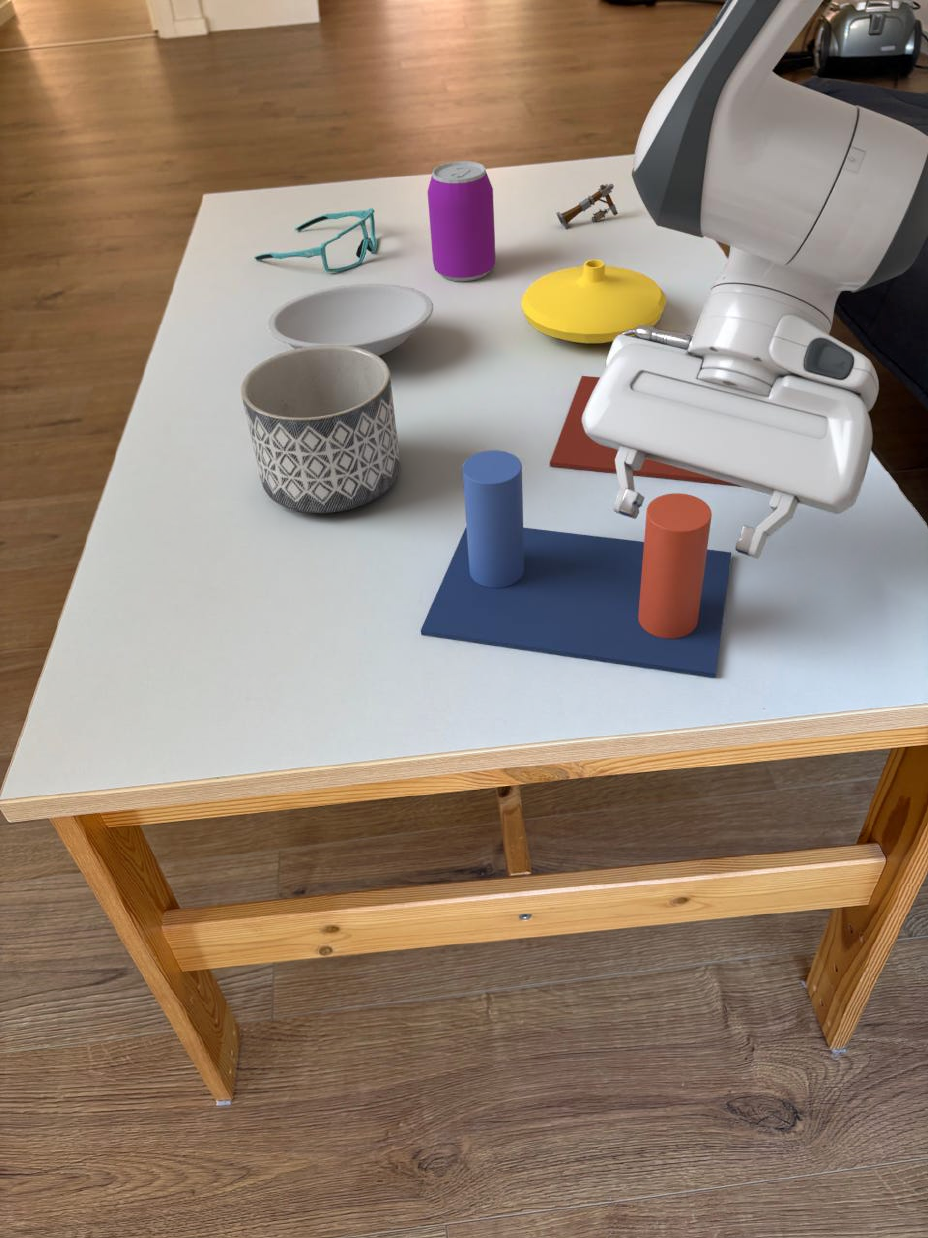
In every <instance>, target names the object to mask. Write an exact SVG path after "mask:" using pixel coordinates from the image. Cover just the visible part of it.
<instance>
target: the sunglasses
mask: <svg viewBox="0 0 928 1238" xmlns="http://www.w3.org/2000/svg"><path fill="white" fill-rule="evenodd" d="M375 213H376V212H375V210H374V208H373V207H371V208H368V209H367V210H366V209H365V210H351V211H342V212H335V213H333V212H331V213H325V214H322V215H319V216H316V217H313V218H312V219H310V220H307V221H305V222H304V223H301V224H299V225H298V226H296V227H295V228H294V230H295V231H296V232H301V231H303V230H305V229H307V228H309V227H311V226H313V225H315V224H318V223H321V222H323V221H324V222H325V221H329V220H338V219H342V218H346V217H356V218H358V219H360V220H359V221H357V222H356V223H354V224H352V225H351V226H350V227H347V228H345V229H344V230H343V231H340V232H339V233H338V234H337V235H336V236H335V237H333V238H331V239H329V240H326V241H325V242H322V243H321V244H320V246H317V247H311V248H308V249H301V250H296V251H289V252H264V253H260V254H257V255H255V256H254V259H255V261H257V262H258V261H263V260H268V259H276V260H283V259H288V258H297V257H300V258H301V257H302V258H306V259H311V258H313V257H317V256H320V257H321V261H322V266H323V269H324V271H325V272H327V273H340V272H344V271H348V270H351V269H354V268H357V266H360V265H361V264H362V263H364V260H365V257H366V255H367V251H368V252H370V254H375V253H376V251H377V247H378V239H377V237H376V223H375V215H374V214H375ZM367 220H369V223H370V237H369V233H368V230H367V225H366V221H367ZM359 226H360V228H361V231H362V235H363V238H362V239H361V241H360V243H359V245H358V247H357V249H356V251H355V256H356V257H357V258H358V260H357V261H355V262H354V263H352V264H349V265H347V266H343V267H337V268H330V267H329V264H328V261H327V260H328V259H327V253H326V246H327V245H329V244H331V243H334V242H335V241H337V240H339V239H341V238H342V237H343V236H345V235H346V234H348V233H349V232H351V231H353V230H354V229H356V228H357V227H359Z"/></svg>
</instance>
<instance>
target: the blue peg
mask: <svg viewBox="0 0 928 1238" xmlns="http://www.w3.org/2000/svg"><path fill="white" fill-rule="evenodd" d="M462 482H463V497H464V510H465V511H464V512H465V528H466V527H467V542H468V556H469V570H470V575H471V577H472V579H473V580H474V581H475V582H476V583H478V584H480V585H482V586H485V587H490V588H502V587H507V586H510V585H512V584H514V583H516V582H517V581H518V580H519V579H520V578H521V577H522V575H523V573H524V537H523V528H524V499H523V498H524V497H523V496H524V495H523V465H522V462H521V460H520V458H518V457H517V456H516V455H515V454H513V453H510V452H507V451H503V450H497V449H495V450H494V449H493V450H484V451H480V452H477V453H474V454H473V455H471V456H469V457H467V459H466V460H465V461H464V462H463V464H462Z"/></svg>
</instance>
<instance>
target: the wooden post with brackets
mask: <svg viewBox="0 0 928 1238" xmlns="http://www.w3.org/2000/svg"><path fill="white" fill-rule="evenodd" d="M614 186H615V185H614V184H613V183H605V184H601V185H599V188H598V189H597V191H596V192H594V193H593V194H592V195H589V196H587V197H585V198H584V199H583V200H582V201H580V202H578V205H575V206H574V207H572V208H570V209H568V210H566V211H564V212H560V211H557V212H555V214H556V216H557V219H558V221H559V223H560V225H561V226H562V227H563V228H564V229H565V230H566V229H568V227H569V226H568V224H569V223H570V222H571V221H572V220H573V219H575V218H576V217H577V216H578V215H579V214H580V213H582V212H585V211H587V210H588V209H590V208H592V206H595V205H596V203H597V202H602V203H605V204H607V205H608V208H604V209H603V210H602V209H601V208H599V211H596V212H595V213H592V215H593V216H592V217H591V222H593V223H594V222H597V223H599V221H600V220H602V219H606V215H607V214H608V213H609V211H611V214H612V215H613V216H617V215H618V214H619V212H618V210H617V206H616V204H615V203H614V202H613V199H612V197H611V195H610V194H611V193H613V191H612V190H613V189H614ZM602 198H605V200H604V199H602Z"/></svg>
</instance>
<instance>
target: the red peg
mask: <svg viewBox="0 0 928 1238" xmlns="http://www.w3.org/2000/svg"><path fill="white" fill-rule="evenodd" d="M712 515H713V514H712V510H711V507H710V506H709V505H708V504H707V502H706V501H704V500H703V499H701V498H700V497H697V496H694V495H691V494H688V493H679V492H677V493H675V492H674V493H673V492H672V493H666V494H663V495H659V496H657V497H655V498H653V500H651V501H650V502H649V504H648V505H647V508H646V513H645V524H644V536H643V537H644V538H643V542H644V550H643V562H642V575H641V588H640V601H639V614H638V619H639V623H640V625H641V626H642V628H643V629H644V630H646V631H647V632H648V633H650V634H652V635H654V636H657V637H660V638H666V639H675V638H680V637H684V636H686V635H688V634H690V633H691V632H692V631H693V630H694V629H695V628H696V626H697V623H698V616H699V608H700V600H701V593H702V585H703V578H704V570H705V562H706V555H707V549H708V548H709V547H708V545H709V539H710V531H711V524H712Z"/></svg>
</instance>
